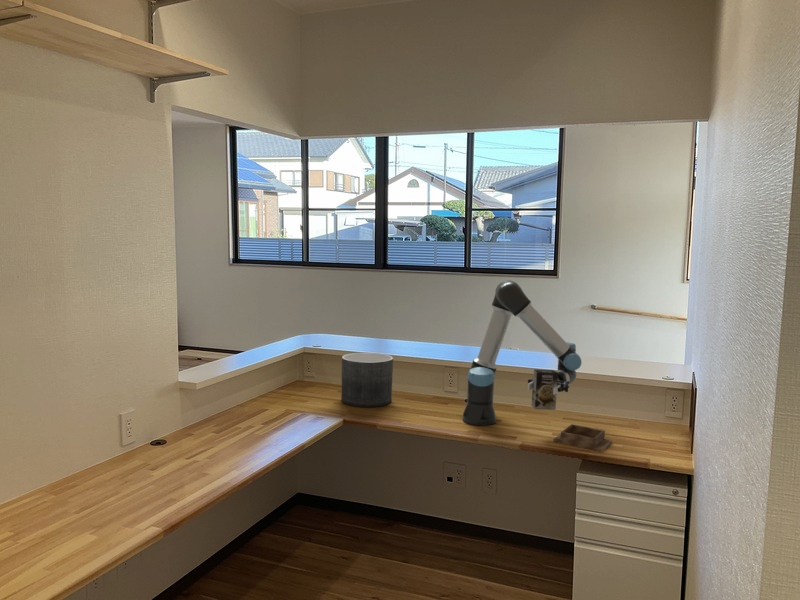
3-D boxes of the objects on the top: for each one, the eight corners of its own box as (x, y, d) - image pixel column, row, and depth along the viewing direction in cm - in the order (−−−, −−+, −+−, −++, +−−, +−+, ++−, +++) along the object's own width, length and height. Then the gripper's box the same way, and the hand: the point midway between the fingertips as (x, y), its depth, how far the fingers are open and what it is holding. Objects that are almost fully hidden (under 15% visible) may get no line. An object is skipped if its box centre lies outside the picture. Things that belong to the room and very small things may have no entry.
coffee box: (534, 409, 256) (537, 372, 254) (531, 405, 262) (533, 369, 261) (556, 410, 256) (558, 372, 255) (551, 406, 263) (554, 369, 261)
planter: (397, 397, 312) (398, 354, 310) (383, 409, 288) (384, 364, 285) (351, 392, 319) (352, 351, 316) (333, 404, 294) (334, 359, 292)
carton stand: (553, 441, 249) (553, 430, 248) (564, 433, 260) (564, 422, 260) (602, 452, 238) (603, 440, 237) (611, 442, 249) (612, 432, 249)
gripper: (583, 392, 267) (567, 402, 249) (533, 383, 280) (515, 393, 262) (584, 375, 267) (568, 384, 248) (534, 368, 279) (516, 376, 261)
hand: (541, 389), depth 255 cm, fingers closed on coffee box, 11 cm apart
